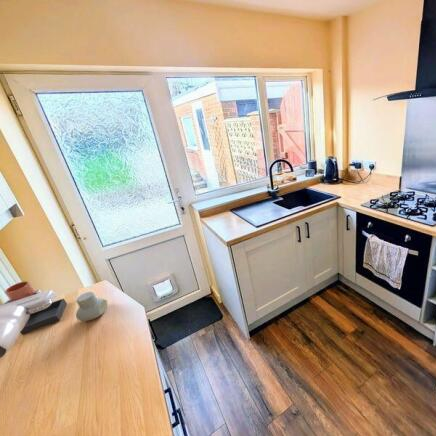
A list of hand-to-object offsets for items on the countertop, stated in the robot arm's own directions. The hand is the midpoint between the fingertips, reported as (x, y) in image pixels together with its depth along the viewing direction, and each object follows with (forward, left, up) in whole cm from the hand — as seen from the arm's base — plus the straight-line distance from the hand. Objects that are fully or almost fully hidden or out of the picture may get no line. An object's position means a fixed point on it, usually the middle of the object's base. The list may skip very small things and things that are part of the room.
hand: (25, 295), depth 93 cm
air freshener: (+17, -3, -17) cm, 24 cm away
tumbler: (0, -1, -6) cm, 6 cm away
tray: (-3, +8, -17) cm, 19 cm away
